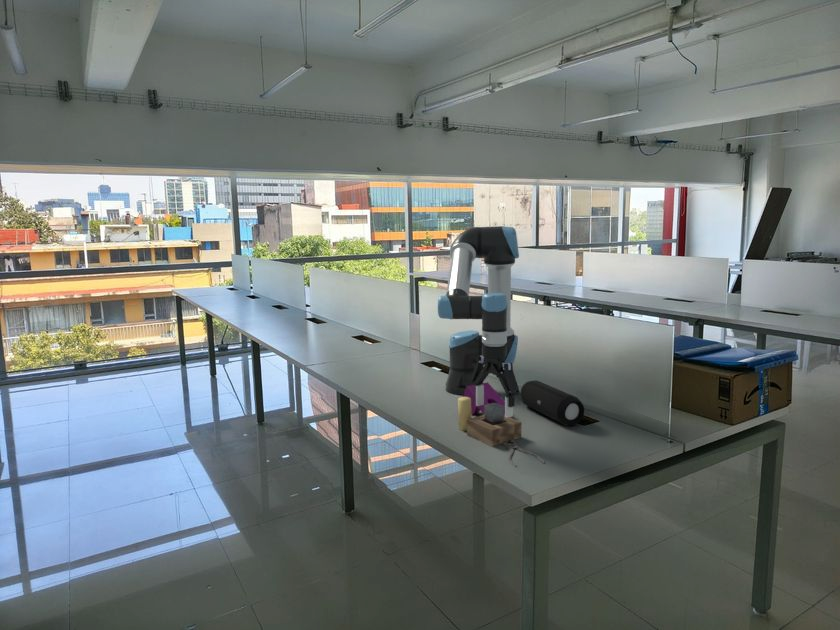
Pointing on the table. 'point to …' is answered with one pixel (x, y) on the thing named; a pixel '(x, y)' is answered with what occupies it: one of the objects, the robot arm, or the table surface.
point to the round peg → (464, 412)
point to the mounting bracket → (489, 397)
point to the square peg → (494, 413)
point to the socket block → (494, 430)
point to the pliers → (515, 446)
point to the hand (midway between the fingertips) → (494, 410)
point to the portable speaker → (552, 402)
